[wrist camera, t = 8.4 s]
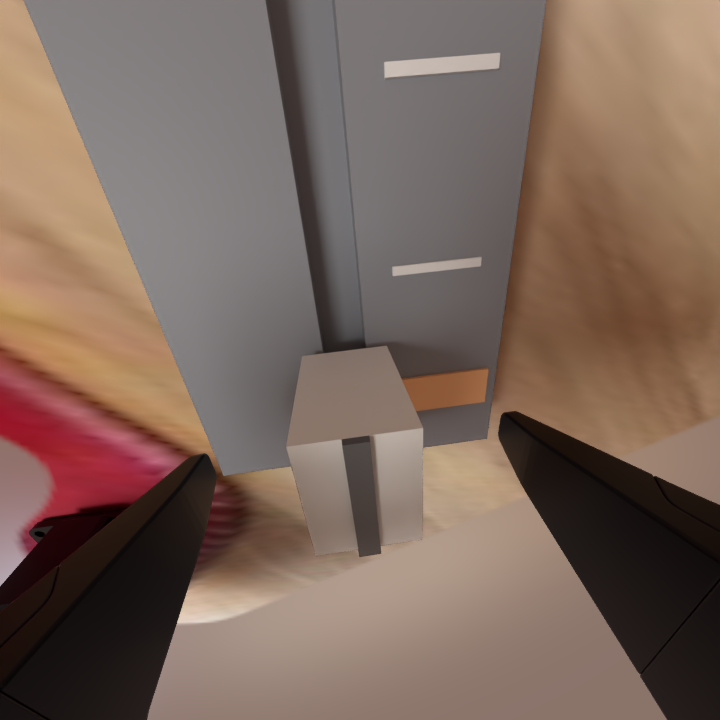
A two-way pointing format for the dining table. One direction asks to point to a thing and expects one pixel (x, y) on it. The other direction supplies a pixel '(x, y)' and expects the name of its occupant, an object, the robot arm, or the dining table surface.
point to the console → (310, 189)
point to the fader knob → (356, 452)
